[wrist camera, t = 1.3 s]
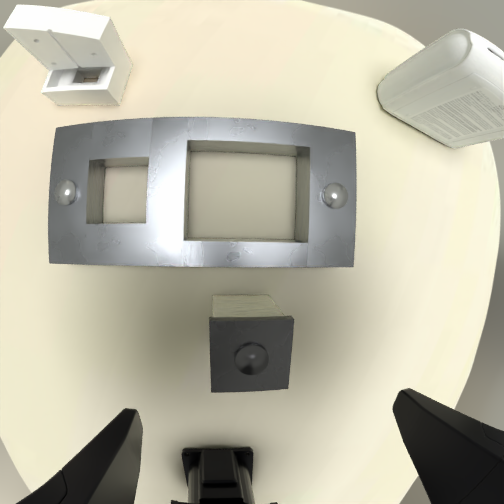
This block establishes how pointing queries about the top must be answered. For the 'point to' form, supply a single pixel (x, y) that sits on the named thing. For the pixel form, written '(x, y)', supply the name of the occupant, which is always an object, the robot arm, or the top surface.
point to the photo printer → (450, 90)
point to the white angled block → (73, 53)
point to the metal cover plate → (177, 188)
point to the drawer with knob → (249, 344)
